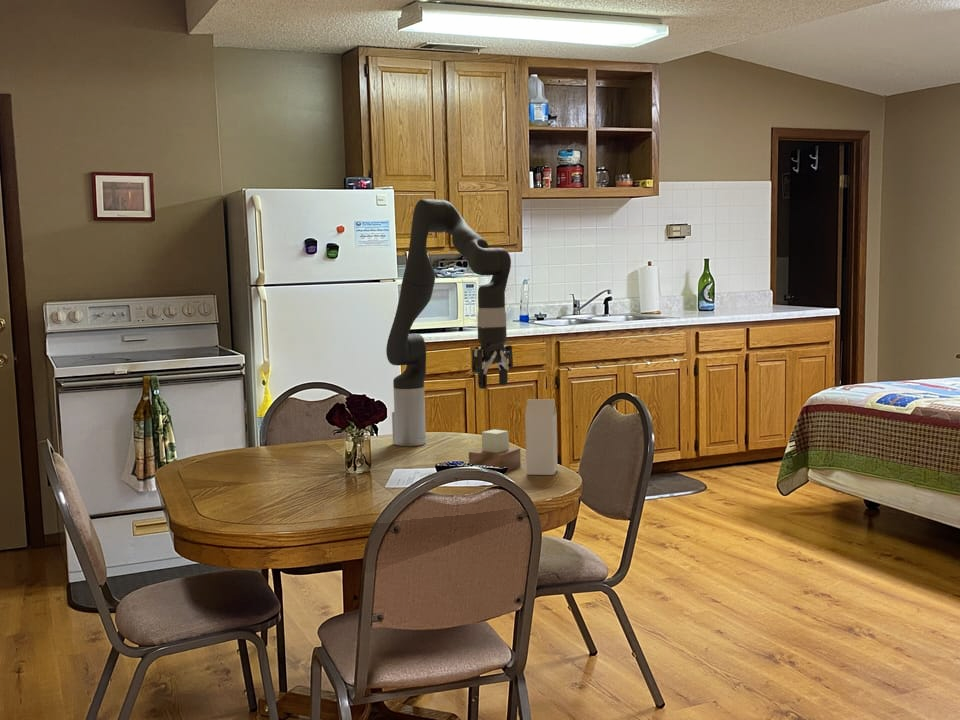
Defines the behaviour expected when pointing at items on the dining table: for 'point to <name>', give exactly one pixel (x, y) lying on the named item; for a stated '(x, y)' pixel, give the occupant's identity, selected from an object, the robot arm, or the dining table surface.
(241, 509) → the dining table surface
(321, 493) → the dining table surface
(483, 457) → the walnut block
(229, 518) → the dining table surface
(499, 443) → the sage cube
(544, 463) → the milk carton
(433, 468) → the dining table surface
